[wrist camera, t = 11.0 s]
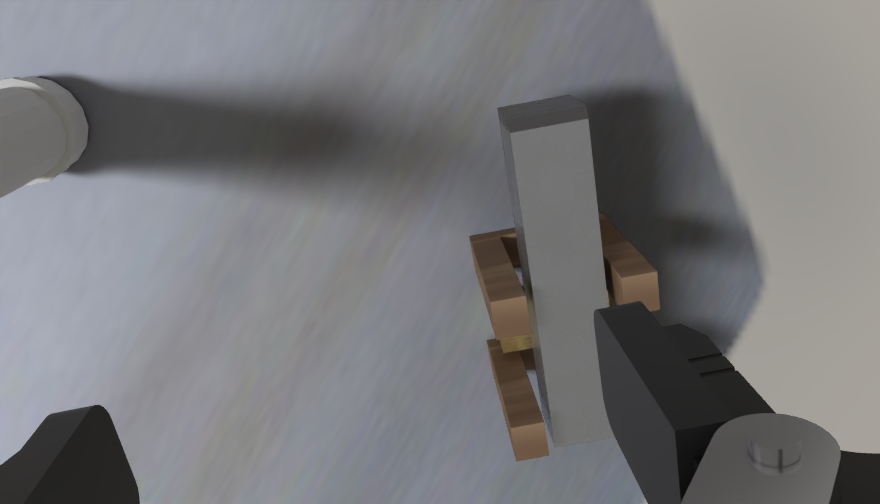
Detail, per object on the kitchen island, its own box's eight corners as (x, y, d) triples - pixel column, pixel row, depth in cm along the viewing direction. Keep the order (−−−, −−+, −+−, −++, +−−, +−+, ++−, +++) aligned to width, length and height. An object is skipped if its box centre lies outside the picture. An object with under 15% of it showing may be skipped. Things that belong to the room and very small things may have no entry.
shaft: (497, 108, 37) (508, 119, 34) (568, 94, 37) (586, 105, 34) (542, 411, 43) (555, 448, 40) (603, 400, 43) (622, 435, 40)
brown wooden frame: (469, 236, 45) (490, 302, 35) (601, 212, 45) (657, 271, 35) (491, 368, 48) (516, 461, 38) (615, 345, 48) (670, 432, 38)
